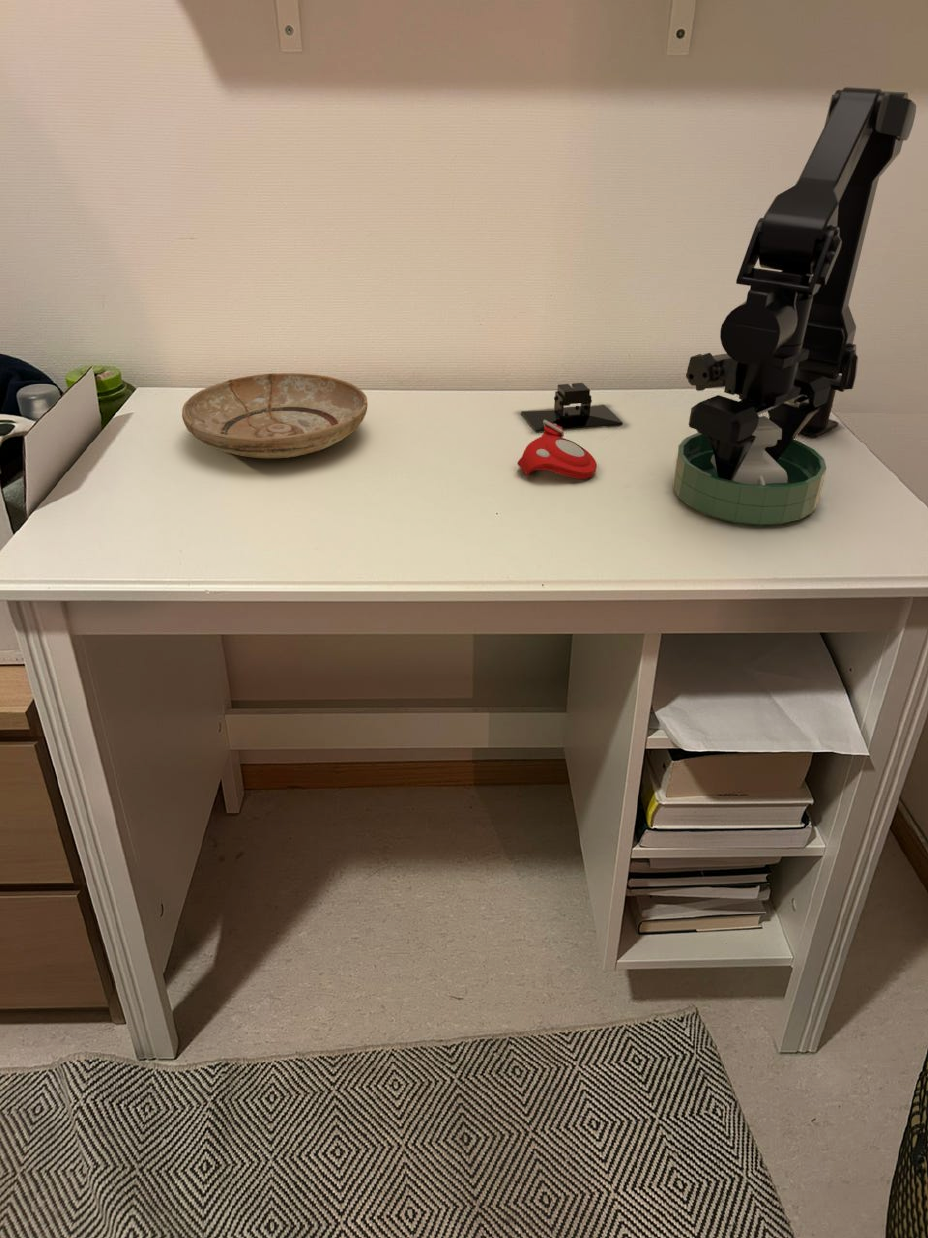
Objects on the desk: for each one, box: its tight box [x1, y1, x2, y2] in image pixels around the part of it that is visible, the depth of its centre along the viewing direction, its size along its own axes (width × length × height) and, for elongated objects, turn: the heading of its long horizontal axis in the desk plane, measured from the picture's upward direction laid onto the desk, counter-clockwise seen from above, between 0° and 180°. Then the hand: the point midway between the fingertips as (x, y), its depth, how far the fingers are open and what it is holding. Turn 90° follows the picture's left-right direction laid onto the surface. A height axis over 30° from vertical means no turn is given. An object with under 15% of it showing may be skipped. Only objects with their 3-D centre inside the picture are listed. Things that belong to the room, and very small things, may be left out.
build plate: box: [520, 382, 623, 433], centre depth 124 cm, size 12×7×5 cm, turn 104°
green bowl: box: [672, 432, 827, 527], centre depth 105 cm, size 16×16×5 cm
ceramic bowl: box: [181, 372, 369, 459], centre depth 118 cm, size 23×24×5 cm
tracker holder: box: [517, 420, 598, 480], centre depth 112 cm, size 12×4×10 cm
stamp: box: [711, 415, 788, 486], centre depth 104 cm, size 9×7×8 cm
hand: (747, 473), depth 105 cm, fingers closed on stamp, 9 cm apart
